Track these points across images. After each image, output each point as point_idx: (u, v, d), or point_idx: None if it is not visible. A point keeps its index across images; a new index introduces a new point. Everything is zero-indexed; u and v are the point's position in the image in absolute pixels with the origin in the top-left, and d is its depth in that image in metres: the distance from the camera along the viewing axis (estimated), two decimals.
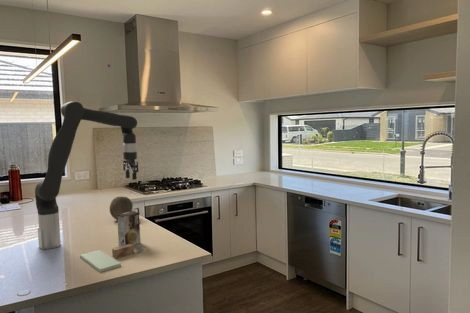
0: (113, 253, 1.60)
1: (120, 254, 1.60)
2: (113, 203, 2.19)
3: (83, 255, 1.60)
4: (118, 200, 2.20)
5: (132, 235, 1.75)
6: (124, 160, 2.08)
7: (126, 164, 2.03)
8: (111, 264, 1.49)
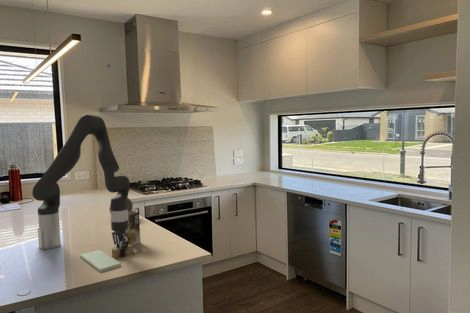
0: (113, 253, 1.60)
1: None
2: None
3: (83, 255, 1.60)
4: None
5: (132, 235, 1.75)
6: (113, 232, 1.65)
7: (115, 235, 1.61)
8: (111, 264, 1.49)
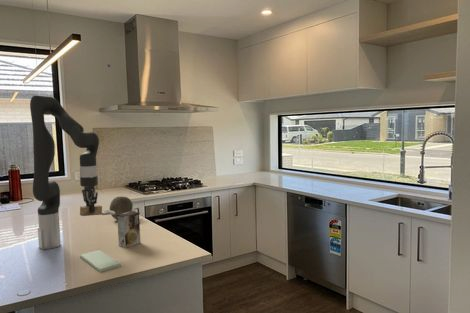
0: (81, 211, 1.61)
1: (88, 212, 1.61)
2: (113, 203, 2.19)
3: (83, 255, 1.60)
4: (118, 200, 2.20)
5: (132, 235, 1.75)
6: None
7: (84, 191, 1.62)
8: (111, 264, 1.49)
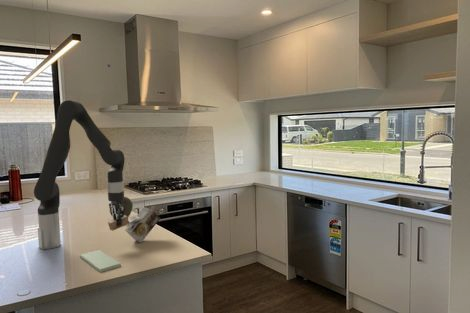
0: (110, 226, 1.71)
1: (116, 226, 1.71)
2: None
3: (83, 255, 1.60)
4: None
5: (142, 229, 1.79)
6: None
7: (112, 206, 1.71)
8: (111, 264, 1.49)
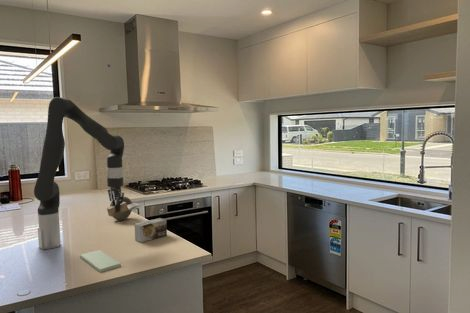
0: (108, 212, 1.70)
1: (115, 212, 1.70)
2: None
3: (83, 255, 1.60)
4: None
5: (150, 231, 1.83)
6: None
7: (111, 192, 1.70)
8: (111, 264, 1.49)
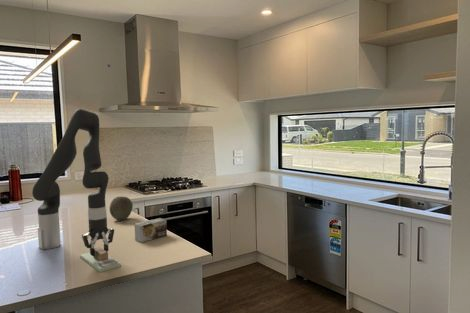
0: None
1: (95, 256, 1.55)
2: (113, 203, 2.19)
3: (83, 255, 1.60)
4: (118, 200, 2.20)
5: (150, 231, 1.83)
6: (111, 228, 1.59)
7: None
8: None
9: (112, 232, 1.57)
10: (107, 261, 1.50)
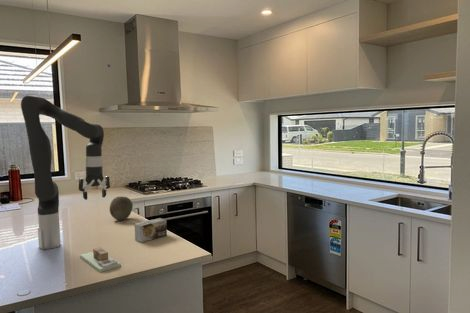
0: None
1: (95, 256, 1.55)
2: (113, 203, 2.19)
3: (83, 255, 1.60)
4: (118, 200, 2.20)
5: (150, 231, 1.83)
6: (106, 176, 1.74)
7: None
8: None
9: (108, 179, 1.73)
10: (107, 261, 1.50)
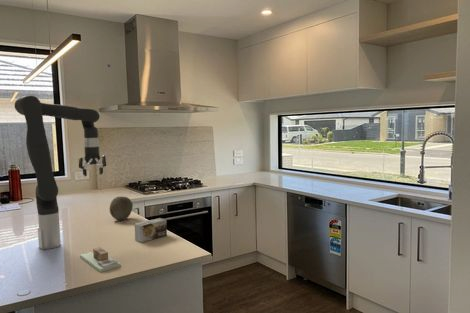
0: None
1: (95, 256, 1.55)
2: (113, 203, 2.19)
3: (83, 255, 1.60)
4: (118, 200, 2.20)
5: (150, 231, 1.83)
6: None
7: None
8: None
9: (104, 158, 1.97)
10: (107, 261, 1.50)
